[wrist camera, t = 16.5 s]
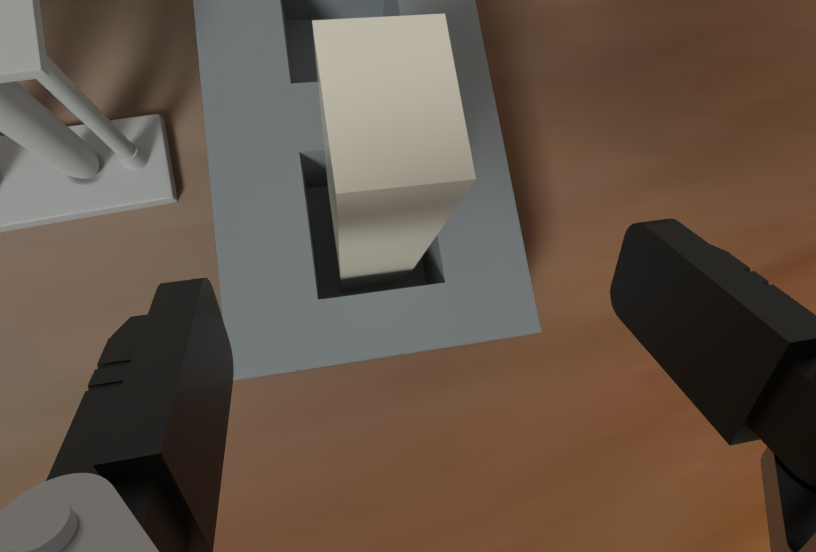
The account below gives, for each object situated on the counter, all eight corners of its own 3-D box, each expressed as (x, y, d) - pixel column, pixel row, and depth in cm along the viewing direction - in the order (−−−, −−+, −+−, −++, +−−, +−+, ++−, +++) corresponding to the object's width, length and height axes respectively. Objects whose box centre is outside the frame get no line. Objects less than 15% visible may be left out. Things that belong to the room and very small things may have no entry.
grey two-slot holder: (256, 377, 23) (228, 381, 18) (217, 1, 26) (184, -93, 21) (498, 339, 25) (541, 332, 19) (434, -8, 28) (455, -97, 23)
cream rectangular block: (341, 290, 23) (336, 193, 10) (330, 208, 23) (311, 20, 11) (404, 281, 23) (475, 179, 10) (392, 201, 24) (444, 14, 11)
